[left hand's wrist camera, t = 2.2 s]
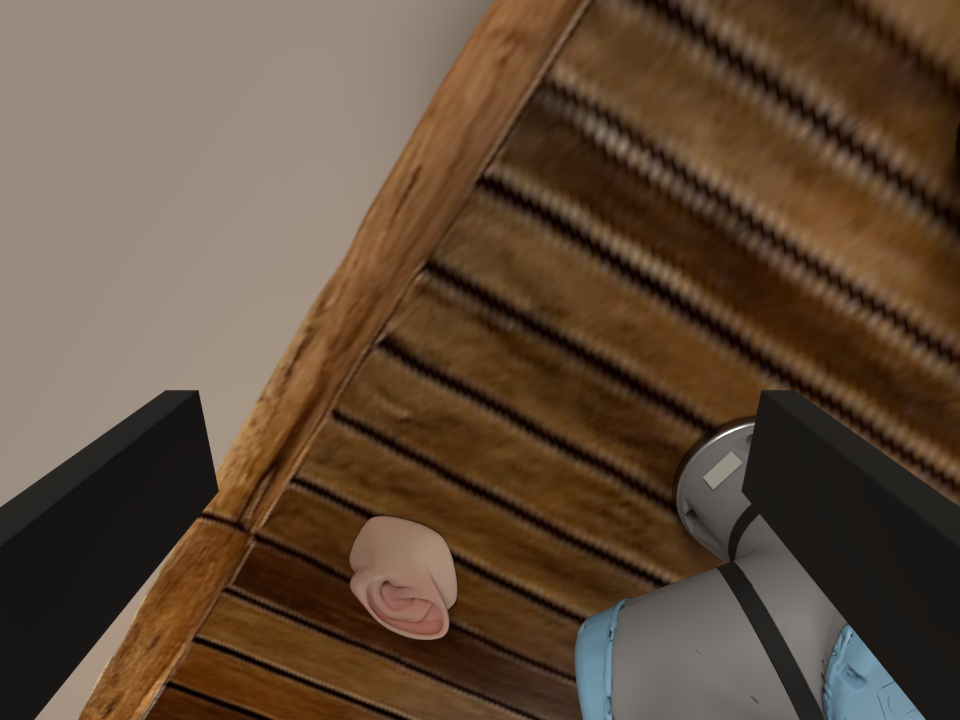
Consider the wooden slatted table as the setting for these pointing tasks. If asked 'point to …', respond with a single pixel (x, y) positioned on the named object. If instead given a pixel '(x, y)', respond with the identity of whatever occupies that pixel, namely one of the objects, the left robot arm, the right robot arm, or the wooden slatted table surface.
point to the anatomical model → (404, 576)
